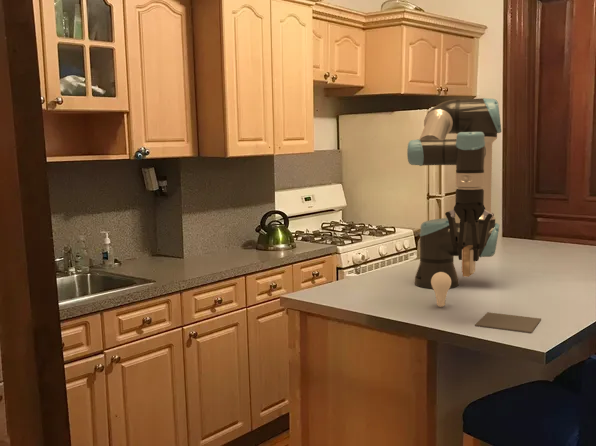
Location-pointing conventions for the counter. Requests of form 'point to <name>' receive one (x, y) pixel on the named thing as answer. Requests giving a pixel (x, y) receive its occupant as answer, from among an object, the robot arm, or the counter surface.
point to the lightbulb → (441, 287)
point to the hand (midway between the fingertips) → (468, 271)
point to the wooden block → (466, 260)
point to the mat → (508, 322)
